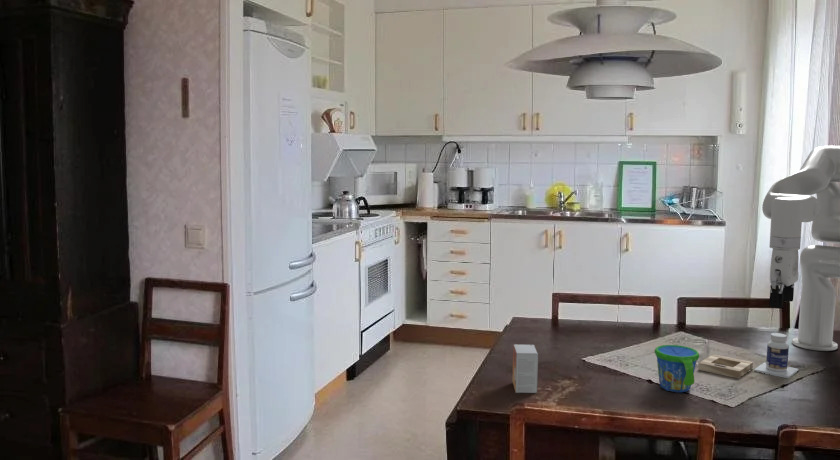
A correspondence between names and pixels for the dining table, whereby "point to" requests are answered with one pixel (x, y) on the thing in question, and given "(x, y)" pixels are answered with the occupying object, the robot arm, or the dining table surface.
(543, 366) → the dining table surface
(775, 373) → the coaster
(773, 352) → the pill bottle
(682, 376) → the snack cup
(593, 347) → the dining table surface
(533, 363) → the small box
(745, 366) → the socket plate
